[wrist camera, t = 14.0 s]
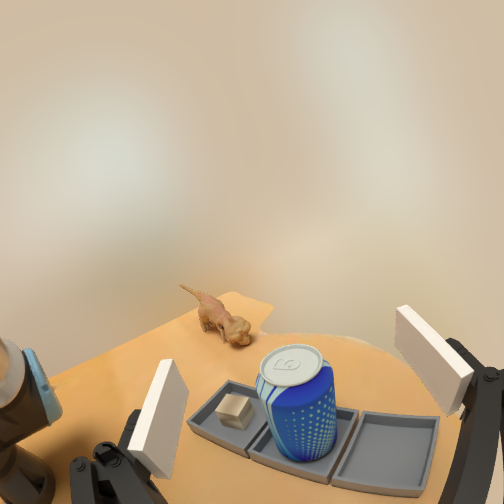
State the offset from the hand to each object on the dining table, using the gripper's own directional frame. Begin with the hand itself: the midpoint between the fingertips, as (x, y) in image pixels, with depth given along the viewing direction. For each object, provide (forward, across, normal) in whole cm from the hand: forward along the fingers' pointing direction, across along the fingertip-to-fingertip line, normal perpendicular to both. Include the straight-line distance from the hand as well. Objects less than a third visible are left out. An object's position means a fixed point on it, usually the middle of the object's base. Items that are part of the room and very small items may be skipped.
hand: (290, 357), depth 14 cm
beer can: (+10, 0, -25) cm, 27 cm away
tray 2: (+3, +10, -25) cm, 27 cm away
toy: (+46, -14, -26) cm, 54 cm away
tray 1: (+17, -10, -26) cm, 32 cm away
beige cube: (+17, -10, -25) cm, 31 cm away
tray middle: (+10, 0, -25) cm, 27 cm away
